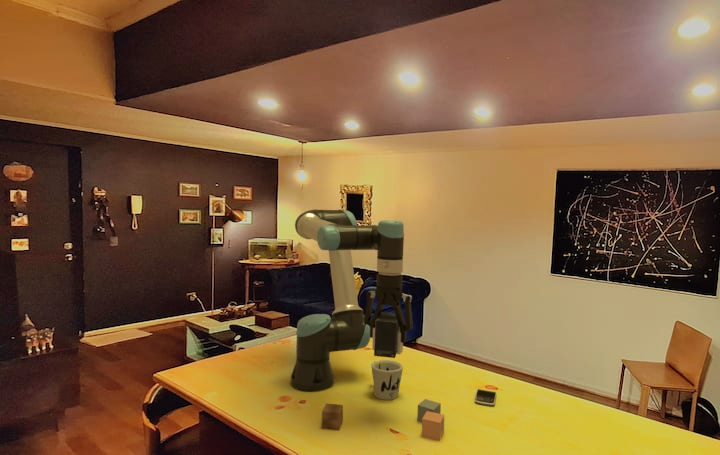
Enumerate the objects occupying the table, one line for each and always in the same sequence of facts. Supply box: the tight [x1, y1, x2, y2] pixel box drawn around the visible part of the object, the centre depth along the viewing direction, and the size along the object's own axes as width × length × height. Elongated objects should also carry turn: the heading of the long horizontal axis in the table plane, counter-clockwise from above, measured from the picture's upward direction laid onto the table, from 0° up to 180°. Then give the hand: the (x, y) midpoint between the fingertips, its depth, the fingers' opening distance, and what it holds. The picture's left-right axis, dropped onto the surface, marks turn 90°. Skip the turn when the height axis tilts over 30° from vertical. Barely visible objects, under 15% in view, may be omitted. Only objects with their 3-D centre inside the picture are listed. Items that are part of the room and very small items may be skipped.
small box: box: [373, 311, 400, 359], centre depth 126 cm, size 11×6×10 cm, turn 168°
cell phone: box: [474, 388, 497, 408], centre depth 141 cm, size 6×11×1 cm, turn 159°
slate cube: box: [416, 398, 442, 424], centre depth 125 cm, size 5×5×5 cm
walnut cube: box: [321, 403, 344, 431], centre depth 121 cm, size 5×5×5 cm
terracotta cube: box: [421, 411, 445, 442], centre depth 118 cm, size 5×5×5 cm
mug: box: [371, 359, 404, 401], centre depth 144 cm, size 10×15×10 cm
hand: (387, 350), depth 126 cm, fingers closed on small box, 7 cm apart
